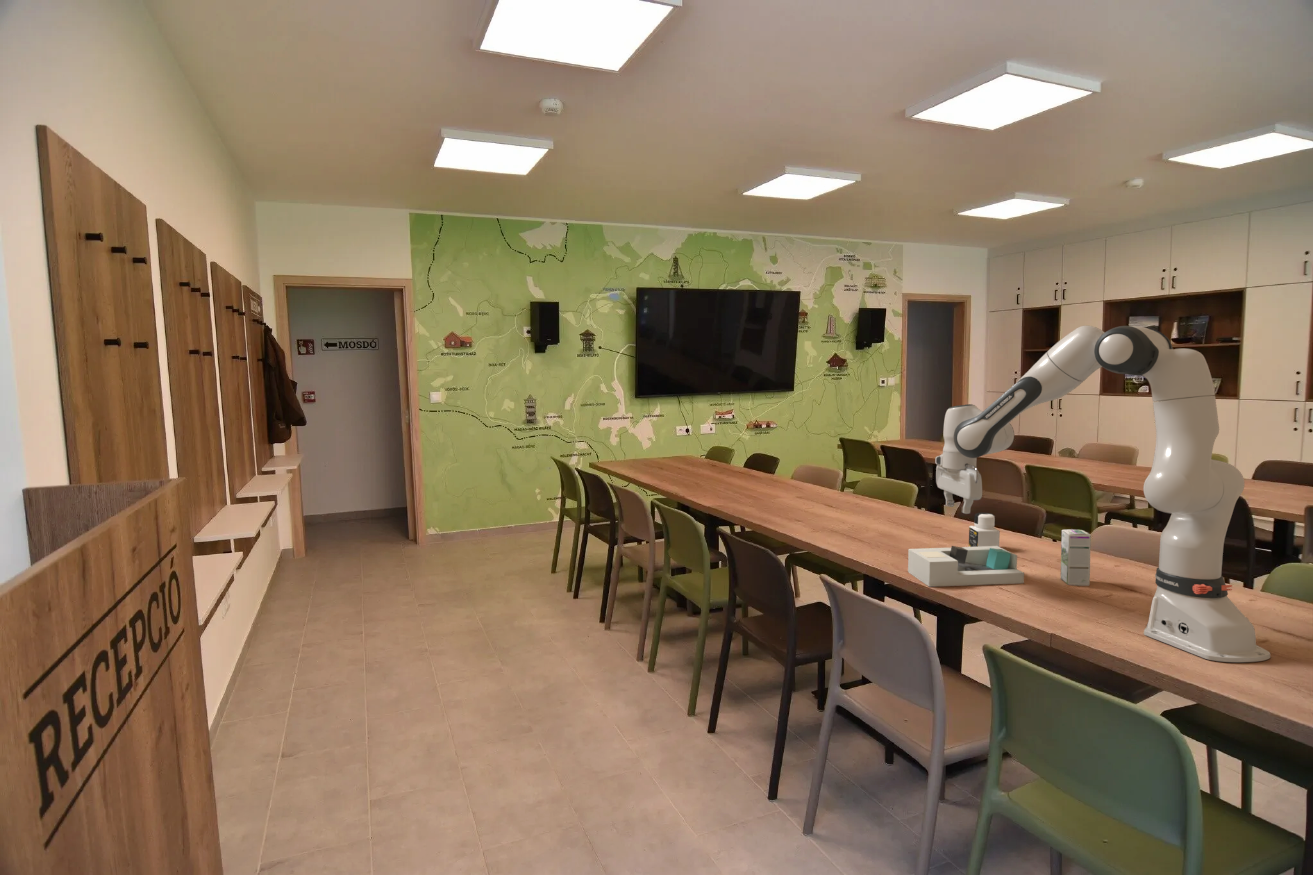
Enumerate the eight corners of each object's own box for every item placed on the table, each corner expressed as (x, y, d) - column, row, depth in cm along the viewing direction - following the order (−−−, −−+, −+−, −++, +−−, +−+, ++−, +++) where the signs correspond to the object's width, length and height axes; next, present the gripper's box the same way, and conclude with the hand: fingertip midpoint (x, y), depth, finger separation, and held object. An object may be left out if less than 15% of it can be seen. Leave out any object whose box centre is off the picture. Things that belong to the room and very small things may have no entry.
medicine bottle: (968, 546, 234) (969, 511, 232) (989, 546, 233) (990, 511, 232) (977, 552, 226) (978, 515, 225) (999, 551, 226) (1000, 515, 225)
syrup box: (1090, 586, 190) (1092, 534, 189) (1066, 585, 191) (1068, 533, 190) (1082, 579, 196) (1084, 529, 194) (1059, 579, 197) (1061, 528, 195)
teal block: (1006, 571, 198) (1010, 553, 198) (993, 569, 198) (997, 551, 198) (999, 567, 202) (1002, 550, 202) (986, 565, 202) (989, 547, 202)
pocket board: (1023, 583, 194) (1024, 558, 193) (929, 586, 192) (929, 561, 191) (996, 568, 208) (997, 545, 207) (908, 572, 206) (908, 548, 205)
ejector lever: (1007, 574, 199) (1011, 557, 198) (953, 565, 198) (957, 548, 197) (1001, 571, 202) (1005, 554, 202) (948, 562, 201) (951, 545, 200)
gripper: (989, 466, 186) (987, 517, 188) (953, 456, 206) (951, 502, 208) (966, 467, 186) (964, 518, 187) (932, 457, 206) (931, 502, 208)
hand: (957, 509), depth 198 cm, fingers open, 8 cm apart
